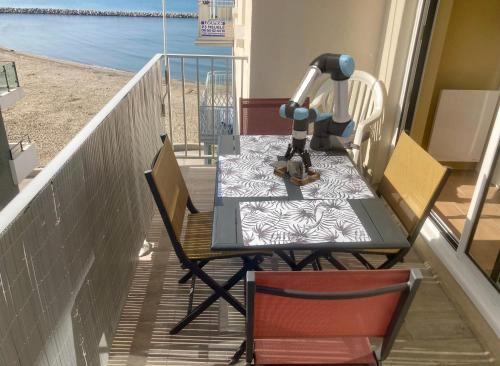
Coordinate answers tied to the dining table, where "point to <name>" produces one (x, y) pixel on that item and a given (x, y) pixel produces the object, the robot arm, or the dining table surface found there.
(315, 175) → the frame
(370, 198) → the dining table surface
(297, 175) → the stone
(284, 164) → the slate coaster
